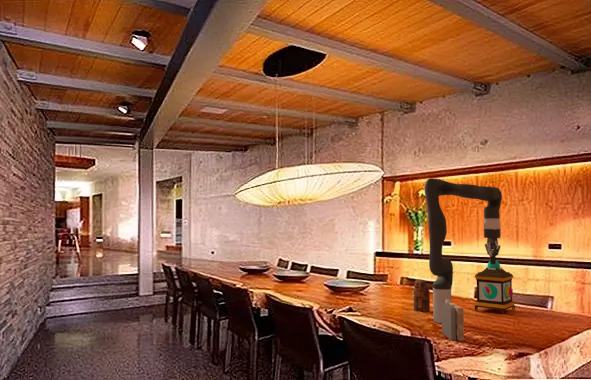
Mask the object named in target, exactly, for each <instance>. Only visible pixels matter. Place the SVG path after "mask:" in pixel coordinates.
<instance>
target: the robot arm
mask: <svg viewBox="0 0 591 380" xmlns="http://www.w3.org/2000/svg"><path fill="white" fill-rule="evenodd" d="M423 190H424V195H425V201H426V210H427V211H426V212H427V220H428V221H427V223H428V224H427V225H428V226H427V227H428V228H427V229H428V234H429V235H428V239H429V259H428V260H429V261H428V263H429V264H428V265H429V271H430V273H431V274H432V275H433V276H437V278H436V279H435V281H434V282H433V283H432V306H433V307H432V314H433V315H432V317H433V318H432V319H433V320H432V321H433V322H434V323H437V324H438V323H439V324H442V322H441V303H446V300H451V301H452V285H453V283H454V282H453V278H454V265H453V263H452V261H451V259H450V258H448V257H443V247H444V246H443V245H444V243H445V241H446V237H447V231H448V229H447V228H448V227H447V219H446V217H445V214H444V212H443V210H442V208H441V204H440V198H439V197H440V196H456V197H460V198H463V199H470V200H471V199H472V200H480V201H485V202H487V205H486V206H485V207H484V208H483V238H485V239H487V240H486V243H484V248H485V250H486V253H487V255H488V256H489V262H490V264H496V261H497V259H496V257H497V256H498V255H499V252H500V250H501V244H500V245H499V241H498V240H499V239H500V238H501V235H502V234H501V217H500V210H501V209H500V208H501V205H502V200H503V199H502V198H503V195H502V191H501V189H500V188H499V187H495V186H487V185H485V186H481V185H477V184H470V183H468V184H467V183H454V182H450V181H446V180H443V179H440V178H435V177H434V178H428V179H426V181H425V183H424V189H423Z"/></svg>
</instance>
